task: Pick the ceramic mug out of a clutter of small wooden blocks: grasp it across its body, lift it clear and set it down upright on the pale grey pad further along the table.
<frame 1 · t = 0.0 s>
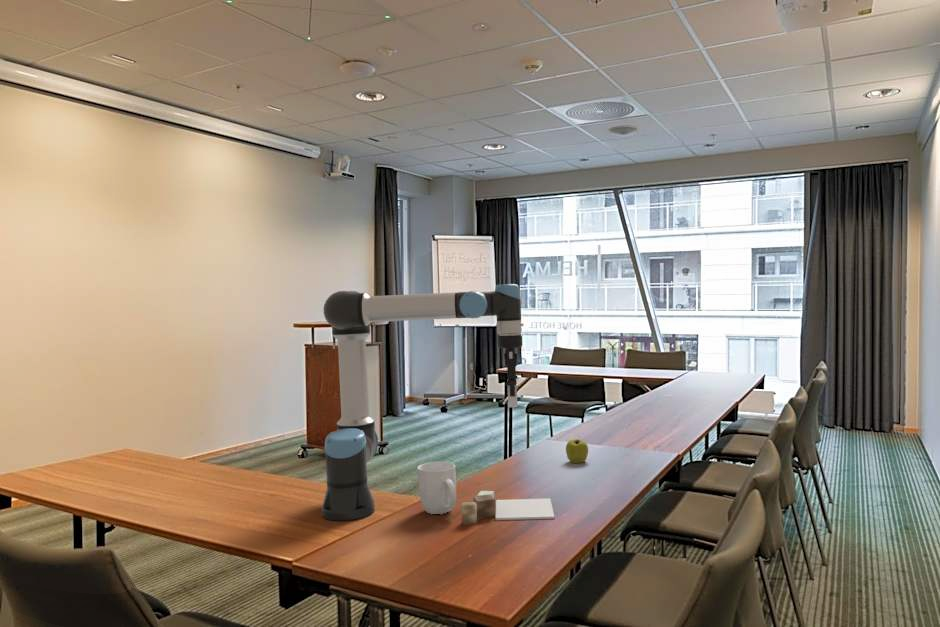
hand: (512, 403, 199), 28 cm above the table, fingers open, 13 cm apart
beech cylinder: (469, 522, 175), on the table
sage block: (485, 507, 188), on the table
apple: (577, 462, 234), on the table
walnut block: (484, 515, 181), on the table
pad: (524, 509, 184), on the table
mug: (440, 512, 185), on the table
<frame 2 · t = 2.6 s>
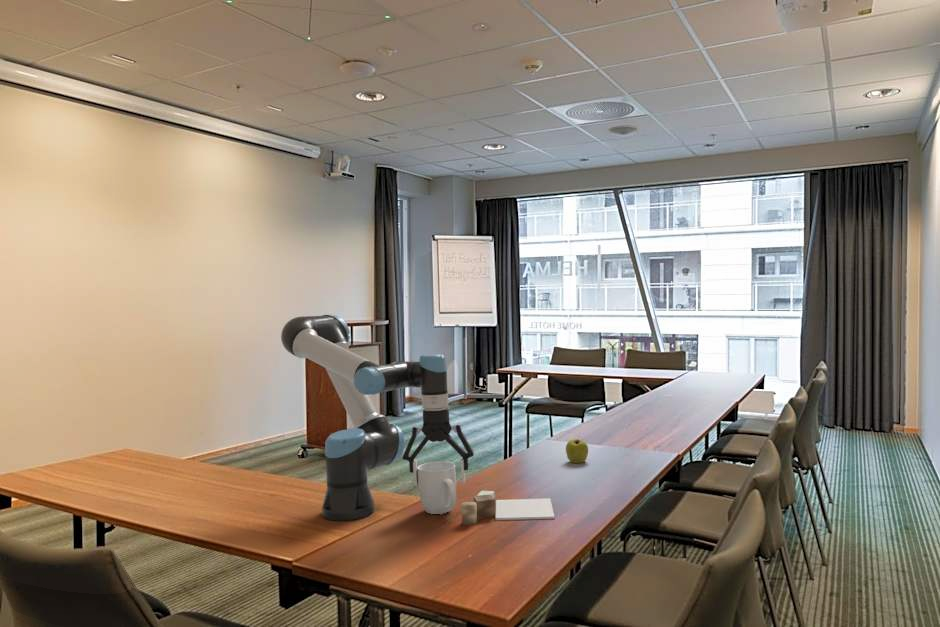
hand: (439, 482, 185), 9 cm above the table, fingers open, 13 cm apart
mug: (440, 512, 185), on the table, touching gripper
everything else where it was.
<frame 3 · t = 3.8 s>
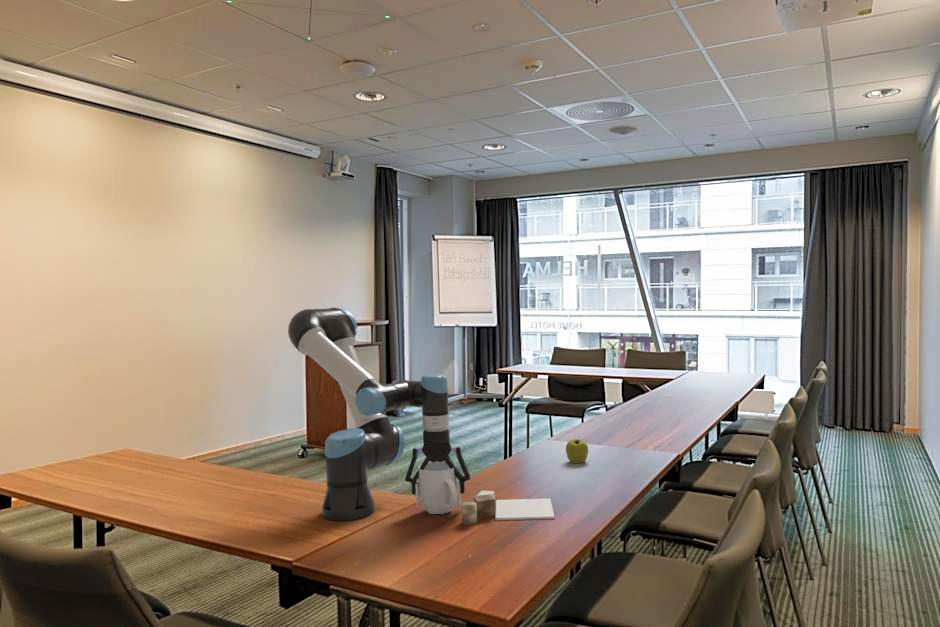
hand: (438, 505, 185), 2 cm above the table, fingers open, 11 cm apart
mug: (440, 512, 185), on the table
everything else where it was.
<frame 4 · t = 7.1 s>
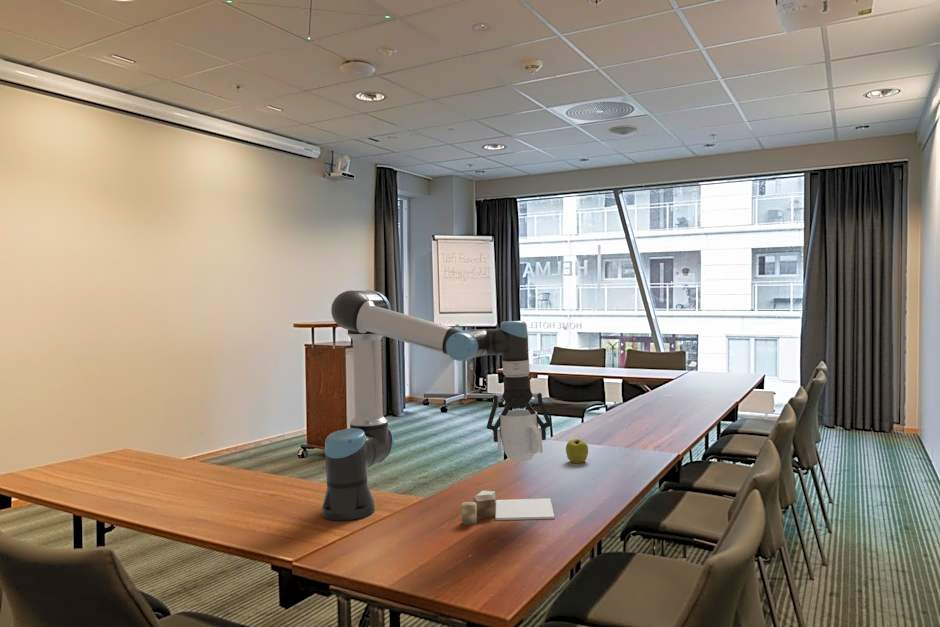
hand: (520, 452, 183), 16 cm above the table, fingers closed on mug, 11 cm apart
mug: (523, 459, 183), point 14 cm above the table, touching gripper
everything else where it was.
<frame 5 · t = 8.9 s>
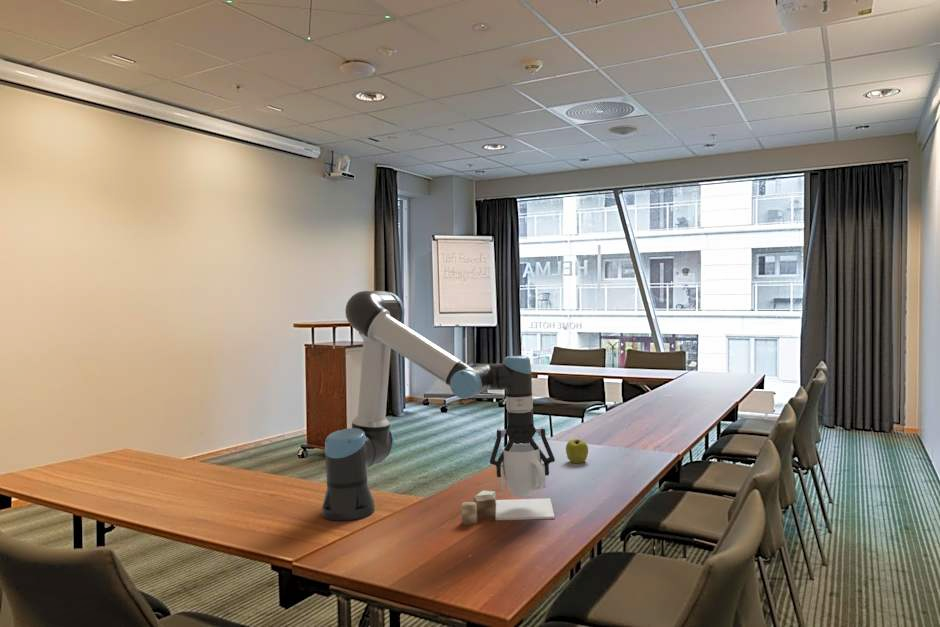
hand: (523, 487, 183), 6 cm above the table, fingers closed on mug, 11 cm apart
mug: (526, 494, 183), point 4 cm above the table, touching gripper
everything else where it was.
when the fingers open (4 cm above the table, at t = 10.4 s): mug drops 1 cm, resting on pad.
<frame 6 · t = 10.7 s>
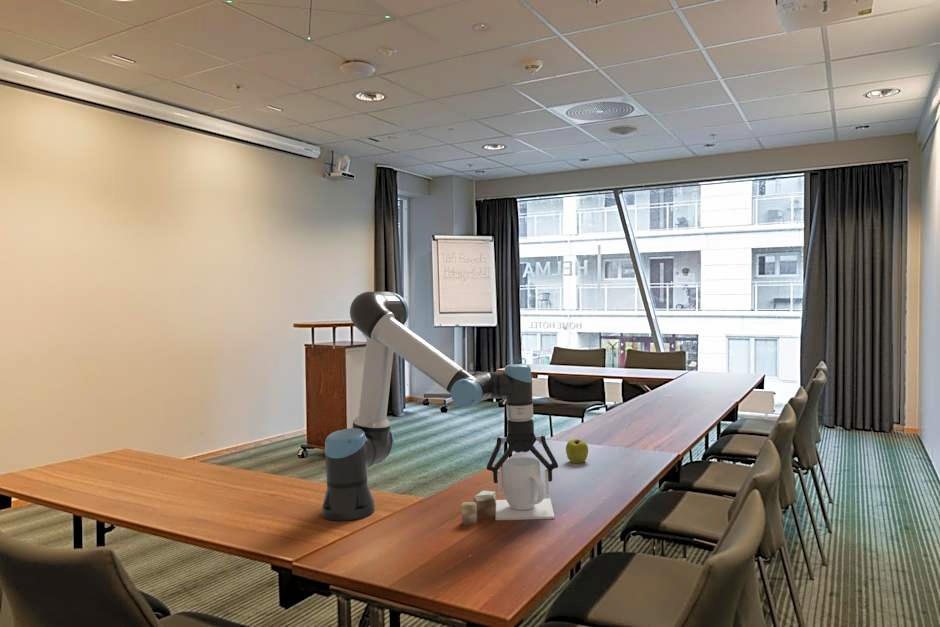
hand: (523, 493, 184), 5 cm above the table, fingers open, 13 cm apart
mug: (524, 508, 184), resting on pad
everything else where it was.
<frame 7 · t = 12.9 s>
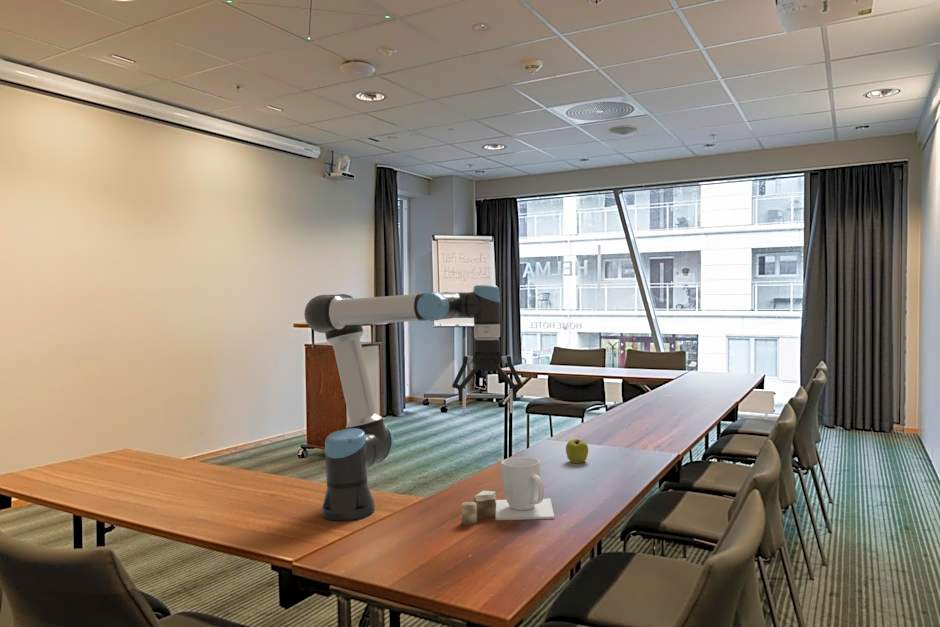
hand: (487, 412, 186), 28 cm above the table, fingers open, 13 cm apart
nothing on the table moved.
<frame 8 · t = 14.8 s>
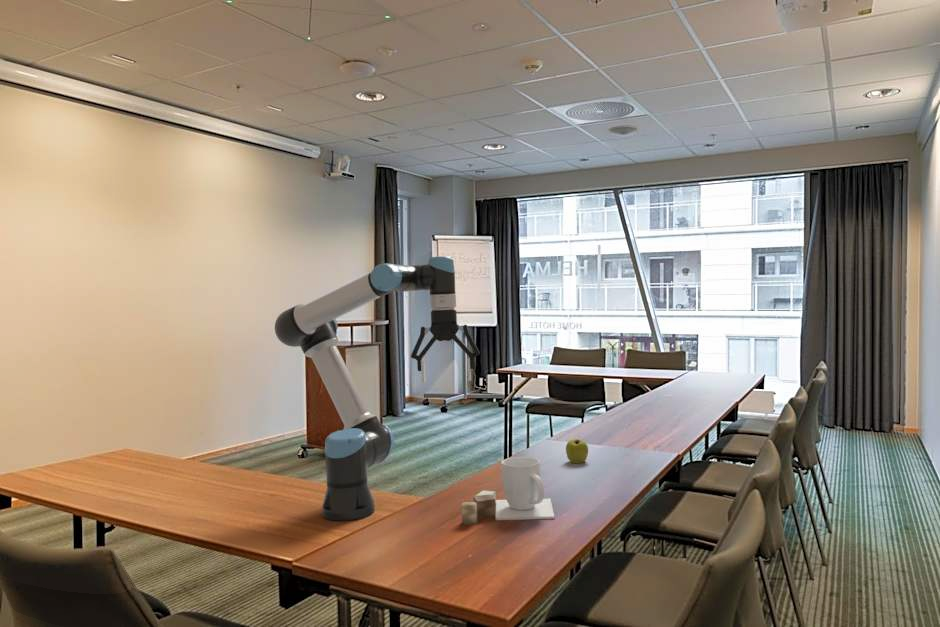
hand: (446, 381, 190), 37 cm above the table, fingers open, 13 cm apart
nothing on the table moved.
at the end: mug 0.2 cm from the pad (horizontally); mug tilted 0°; the gripper is holding nothing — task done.
